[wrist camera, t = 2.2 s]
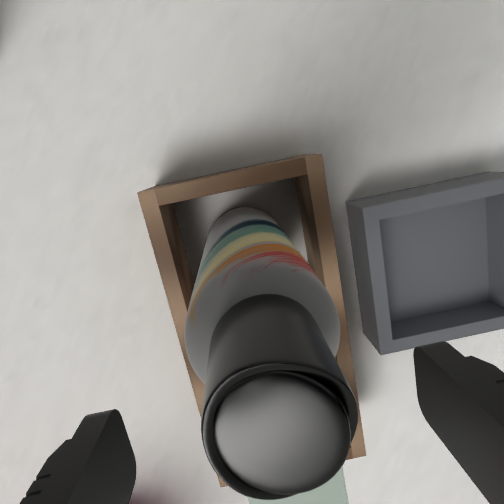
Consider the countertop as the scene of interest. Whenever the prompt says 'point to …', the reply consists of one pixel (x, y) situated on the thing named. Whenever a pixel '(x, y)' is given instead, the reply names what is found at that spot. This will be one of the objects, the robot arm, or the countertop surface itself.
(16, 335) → the countertop surface
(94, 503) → the robot arm
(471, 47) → the countertop surface
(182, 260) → the frame
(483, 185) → the tray
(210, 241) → the lotion bottle
